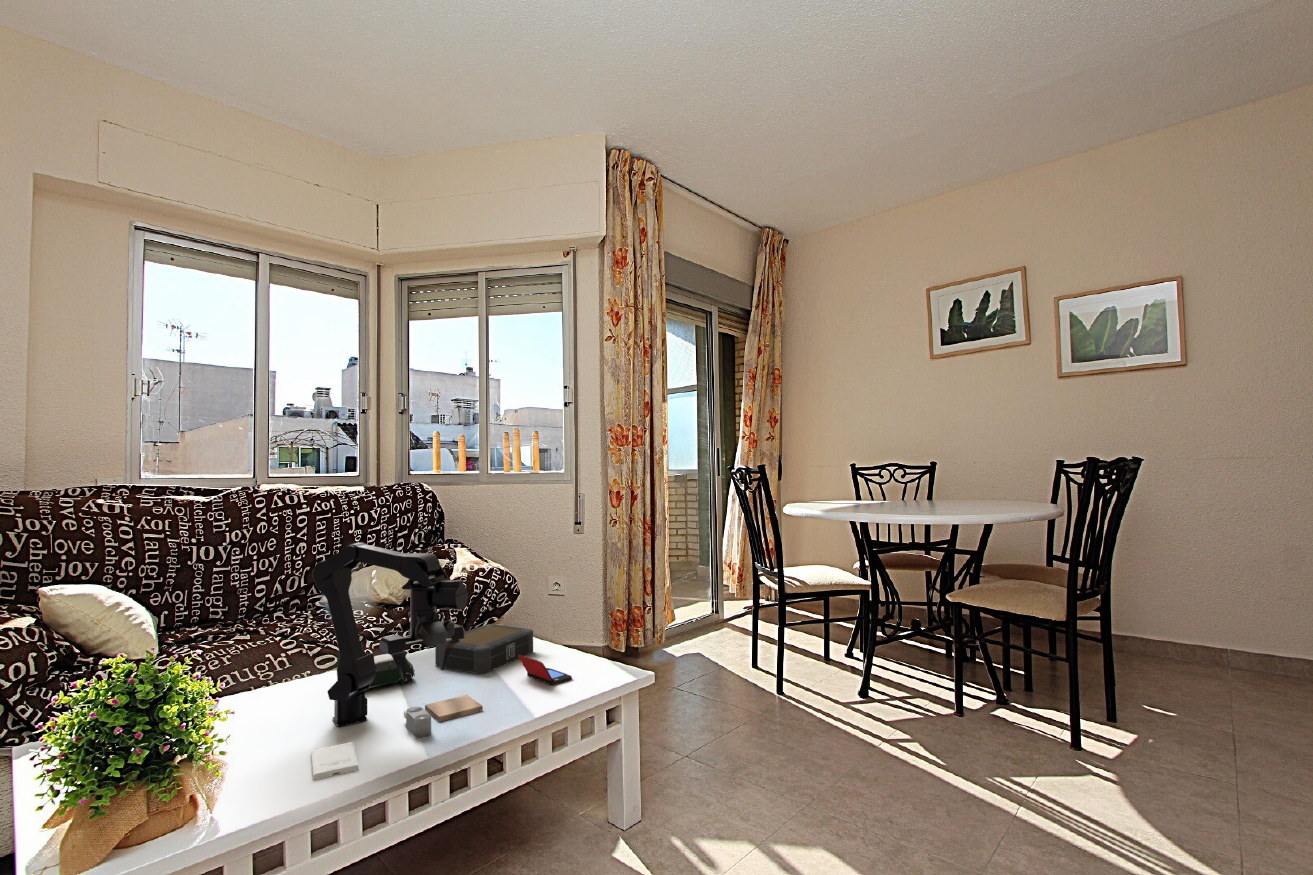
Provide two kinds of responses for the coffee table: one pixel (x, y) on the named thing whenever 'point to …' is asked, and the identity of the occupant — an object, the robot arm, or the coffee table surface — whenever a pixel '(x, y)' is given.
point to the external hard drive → (333, 760)
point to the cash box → (488, 648)
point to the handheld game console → (543, 671)
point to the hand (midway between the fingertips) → (423, 674)
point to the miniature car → (390, 671)
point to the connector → (418, 722)
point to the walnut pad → (453, 708)
